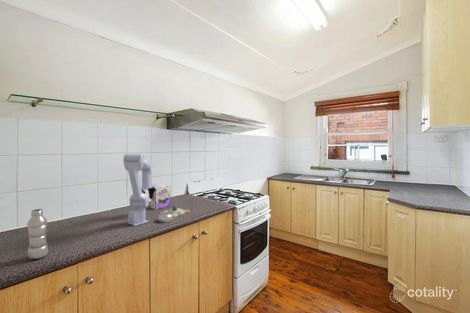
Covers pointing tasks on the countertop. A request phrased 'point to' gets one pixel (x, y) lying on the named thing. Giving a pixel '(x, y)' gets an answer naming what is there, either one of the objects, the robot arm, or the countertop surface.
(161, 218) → the tin
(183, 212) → the board
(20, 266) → the countertop surface
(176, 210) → the lid
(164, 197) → the candy box
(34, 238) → the plastic bottle
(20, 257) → the countertop surface
